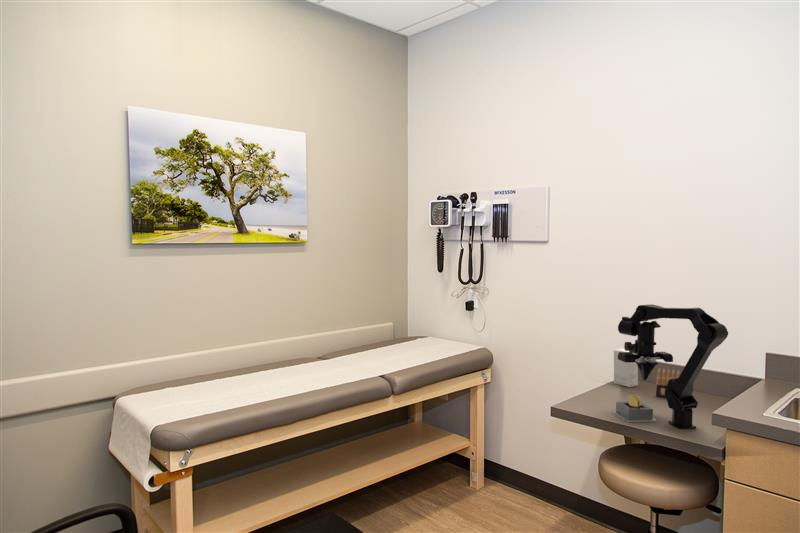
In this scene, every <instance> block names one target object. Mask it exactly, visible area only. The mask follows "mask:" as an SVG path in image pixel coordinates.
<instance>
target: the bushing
mask: <svg viewBox="0 0 800 533" xmlns="http://www.w3.org/2000/svg"><path fill="white" fill-rule="evenodd" d="M628 402H629V407H630V408H641V403H642V396H641V395H637V394H629V395H628Z"/></svg>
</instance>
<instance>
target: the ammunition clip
mask: <svg viewBox="0 0 800 533" xmlns="http://www.w3.org/2000/svg"><path fill="white" fill-rule="evenodd" d="M661 372H662V373H661ZM656 374H657V376H656V384H655V385H656V386H655V388H656V389H655V397H657V398H664V399H666V397H665V394H664V392H665V390H666V389H664V388H665V387H666V386H667V384H668V381H669V380H670V379H674V378H678V377H679V376H680V374H681V373H680V370H679V369H677V371H676V372H675V369H674V368H673V369H672V371H671V370H670V368H668V369H667V371H666V369H665V368H663V369H662V371H661V368H660V367H659V368H658V370H657V373H656Z"/></svg>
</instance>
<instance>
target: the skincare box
mask: <svg viewBox="0 0 800 533" xmlns="http://www.w3.org/2000/svg"><path fill="white" fill-rule="evenodd" d="M620 352H629V351H625V348H624V347H622V348H618V349H614V350H613V384H616V385H620V386H624V387H628V388H632V387H637V386H638V385H639V371H638V370H639V368H638V365H637V364H636V363H635V362H623V361H621V360H619V359H618V354H619V353H620ZM632 354H635V353H632Z"/></svg>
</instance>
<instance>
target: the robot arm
mask: <svg viewBox="0 0 800 533" xmlns="http://www.w3.org/2000/svg"><path fill="white" fill-rule="evenodd" d="M658 319H678V320H689V321H690V322H691V325H692V326H693V328H694V329H695V330H696V331H697V333H698V334H697V337H696V340H697V341H696V342H697V345H696V346H695V348H694V350H693V352H692V353H691V355H690V357H689V358H688V360H687V362H686V363H685V366H684V367H683V369H682V370H681V373H680V376H679V377H678V378H676V377H675V378H674V379H671V378H670V380H669V381H668V384H667V386H666V387H665V388H664V389H666V390H665V392H664V394H665V397H666V398H665V399H666V401H667V405H668V408H669V409H671V410H672V412H671V413H672V417H671V420H668V421H667V422H668V423H669V424H670V425H672V426H674V427H676V428H678V429H696V428H697V426H696V425H694V424H693V414H694V413H693V409H697V408H698V405H699V402H698V401H697V399H696V398H695V397H694V395H693V392H694V383H695V381H696V379H697V378H698V376H699V375H700V372H701V370H702V369H703V367H704V365H705V364H706V362H707V360H708V359H709V357H710V355H711V354H712V352H713V351H714V350H715V349H716V348H718V347H719V346H721V344H723V342H725V341H726V339H727V337H728V336H729V331H728V329H727V326H725V325H724V324H722V323H720V322H719V321H718V320H717V319H716V318H715V317H713V316H711V315H710V314H708V313H707V312H706V311H705V310H704V309H703V308H700V307H693V308H692V307H691V308H690V307H686V308H685V307H664V306H661V305H657V304H640V305H638V306H636V308H635V311H634V312H633V314H632V315H631V316H630V317H629V316H622V317H621V320H620V322H619V323H618V325H617V329H618V330H617V331H618V332H619V334H621V335H625V336H631V337H636V336H637V338H636V339H634V343H632V341H625V342H624V346H623V349H625V351H629V352H620V353H619V354H618V359H619V360H621V361H623V362H635V363H636V364H637V365H638V370H639V373H640V375H641V378H642V380H643V381H647V380H648V377H649V376H650V374H651V373H652V372H653V370H654V368H655V367H656V365H659V362H657V360H663V361H664V362H665V363H674V357H673V355H672V353H669V352H667V351H655V346H657V342H656V341H655V330H656V328H657V329H658V328H661V327H662V326H661V325H660V324H659V323H658V322H657V320H658ZM632 353H635V354H632Z"/></svg>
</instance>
